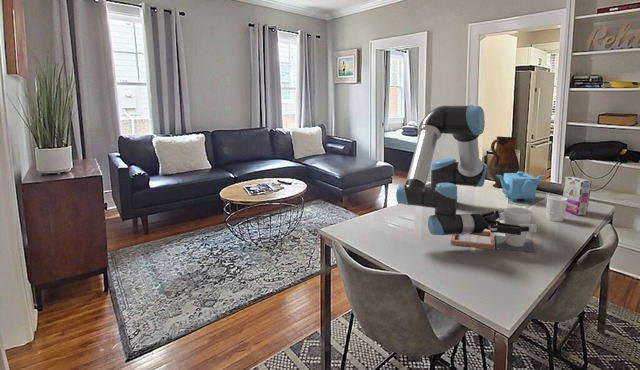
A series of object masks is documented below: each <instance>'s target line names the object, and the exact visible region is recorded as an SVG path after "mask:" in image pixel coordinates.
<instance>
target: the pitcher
mask: <svg viewBox="0 0 640 370" xmlns="http://www.w3.org/2000/svg"><path fill="white" fill-rule="evenodd" d="M516 142H517V137H516V136H496V139H494V140H493V141H492V142H491V144H490V150H491V152H492V153H493V155H492V157H491V158H490V160H489V163H488V165H487V170H488V174H489V177H491V178H492V180H493V181H494V183H493V184H492V187H493V188H496V189H503V187H502V185H501V181H500V178H499V177H498V176H496V175H501V176H503V178H504V173H517V172H520V162H519V159H518V155H517V154H516V153H517V152H516Z"/></svg>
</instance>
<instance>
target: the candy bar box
mask: <svg viewBox="0 0 640 370" xmlns="http://www.w3.org/2000/svg"><path fill="white" fill-rule="evenodd" d="M564 178H565V179H564V185H563V193H562V197H565V198H567V199H568V200H567V206H566V211H565V212H567V213H570V214H572V215H575V216H578V217H580V216H581V217H583V216H584V217H585V216H587V214H588V208H589V201H590V195H591V188H592V180H589V179H584V178H582V177H579V176H578V177H577V176H571V175H570V176H565V177H564Z"/></svg>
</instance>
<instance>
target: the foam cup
mask: <svg viewBox="0 0 640 370" xmlns="http://www.w3.org/2000/svg"><path fill="white" fill-rule="evenodd" d="M503 213H504V220H503V221H504V222H503V223H506V224H512V225H517V226H518V225H519V224H531V220H532V218H533V211H532V210H530V209H528V208H525V207H524V208H523V207H517V206H510V207H505V208H504V209H503ZM527 235H528V232H521V235H515V234H506V233H504V236H505V241H506V243H507V244H508V245H511V246H517V247H518V246H524V243H525V239H527Z"/></svg>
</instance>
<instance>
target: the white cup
mask: <svg viewBox="0 0 640 370" xmlns="http://www.w3.org/2000/svg"><path fill="white" fill-rule="evenodd" d="M567 200H568V199H567V198H565V197H563V196H560V195H548V196H546V205H545V207H546V209H545V213H546V215H545V218H546V220H548V221H552V222H564V218H565V216H566V215H565V214H566V212H567V211H566V206H567Z"/></svg>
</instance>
